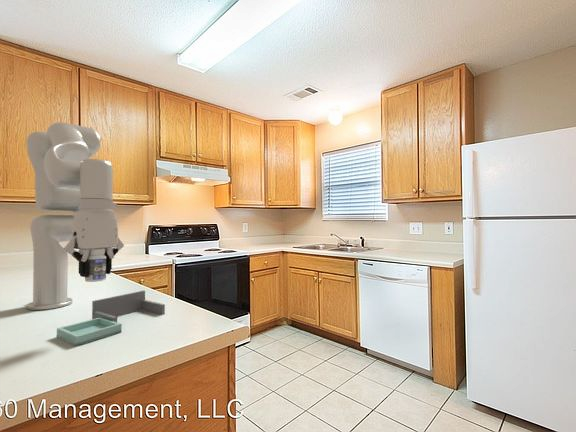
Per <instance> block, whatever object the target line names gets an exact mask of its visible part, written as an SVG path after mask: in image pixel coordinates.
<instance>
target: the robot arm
mask: <svg viewBox="0 0 576 432" xmlns="http://www.w3.org/2000/svg"><path fill="white" fill-rule="evenodd" d="M101 141H102V140H101V135H99V133H98V131H96V130H95V129H94V128H91V127H86V126H82V125H77V124H72V123H69V122H55V123H54V122H53V123H52V124H51V125H50V126H48V128H47V130H46V131H33V132H31V133H29V134H28V136H27V139H26V151H27V156H28V158H29V161H30V164H31V165H32V168H33V171H34V191H35V192H34V194H35V195H34V196H35V197H34V198H35V199H34V200H35V204H36V207H37V208H38V210H41V211H45V212H63V213H66V212H71V213H73V214H44V215H43V214H42V215H38V216H36V217H34V218H33V219H32V220H31V222H30V227H29V228H30V235H31V240H32V251H33V252H32V253H33V255H32V256H33V261H32V262H33V266H32V267H33V270H32V271H33V272H32V274H33V275H32V277H33V278H32V279H33V280H32V302H29V303H27V305H26V309H27V310H31V311H42V310H52V309H56V308H61V307H66V306H68V305H71V304H73V298H71V297H68V278H69V277H68V275H69V274H68V273H69V272H68V270H69V266H68V265H69V263H68V262H69V261H68V260H69V257H68V256H69V255H70V256H71V257H73V258H74V259H75V260H76V261H78V274H79V276H80V277H83V278H85V277H88V276H89V261H87V257H88V254H89V250H90V249H104V248H105V254H104V255H105V256H106V275H110V274H111V273H112V272H111V271H112V267H113V264H112V262H113V259H114V257H115V256H116V254H117V253H118V252H119V251H120V250H122V249H123V248H124V246H125V244H124V243H123V242H122V241H121V239H120V238H119V228H118V227H119V226H118V221H117V216H116V215H117V214H116V212H115V211H113V210H114V208H117V207H118V203H117V202H114V199H113V197H114V196H113V195H114V192H113V191H114V190H113V189H114V188H113V187H114V166H113V164H112V162H110V161H108V160H105V159H101V158H91V157H93V156H94V155H96V154H97V153H98V152H99V150H100V148H101V145H102V142H101ZM63 242H67V244H66V245H65V246H64V247H63V246H62V245H61V244H60V243H63ZM77 250H78V251H77ZM68 254H69V255H68Z"/></svg>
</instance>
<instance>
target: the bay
mask: <svg viewBox="0 0 576 432" xmlns="http://www.w3.org/2000/svg"><path fill="white" fill-rule="evenodd" d="M165 307H166V305H165V304H164V303H160V302H157V301H152V300H148V299H146V291H145V290H139V291H134V292H130V293H125V294H120V295H114V296H110V297H107V298H106V297H105V298H101V299H96V300H92V305H91V316H92V318H91V320H92V319H96V318H100V317H102V318H105V319H108V320H111V321H114V322H117V323H118V317H119V316H123V315H126V314H130V313H134V312H138V311H141V310H142V311H146V312H151V313H155V314H157V313H158V315H161V314H163V315H165V314H166V313H165V312H166V308H165Z"/></svg>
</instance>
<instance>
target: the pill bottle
mask: <svg viewBox="0 0 576 432" xmlns="http://www.w3.org/2000/svg"><path fill="white" fill-rule="evenodd" d="M104 254H105V248H104V249H90V250H89V254H88V257H87V261H89V276H88V277H84V281H85V282H89V283H95V282H103V281H105V280H106V279H107V274H106V256H105V255H104Z"/></svg>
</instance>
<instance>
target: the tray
mask: <svg viewBox="0 0 576 432" xmlns="http://www.w3.org/2000/svg"><path fill="white" fill-rule="evenodd" d="M122 327H123V326H122V323H119V322H118V321H117V322H114V321H111V320H108V319H105V318H102V317H100V318H96V319H92V318H91V319H88V320H85V321H80V322H77V323H71V324H69V325H65V326H61V327H56V338H57V339H60V340H62V341H64V342H67V343H69V344H71V345H73V346H76V347H78V346H82V345H85V344H88V343H91V342H95V341H98V340H101V339H104V338H107V337H110V336H113V335H114V336H115V335H118V334H120V333H122V329H123V328H122Z"/></svg>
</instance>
